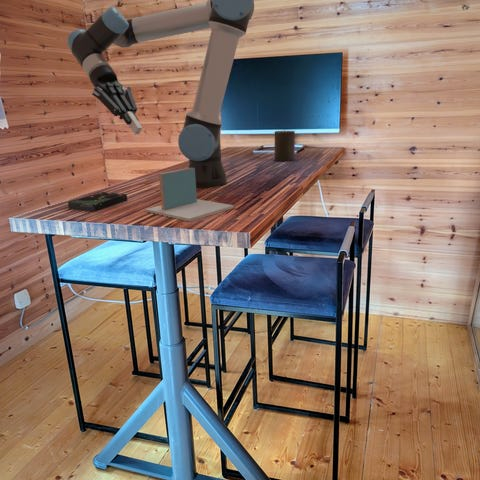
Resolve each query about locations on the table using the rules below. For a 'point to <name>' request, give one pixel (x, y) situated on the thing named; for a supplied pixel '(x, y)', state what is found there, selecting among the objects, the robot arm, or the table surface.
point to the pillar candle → (284, 145)
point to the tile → (177, 188)
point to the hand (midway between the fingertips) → (138, 131)
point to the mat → (192, 210)
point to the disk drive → (97, 201)
